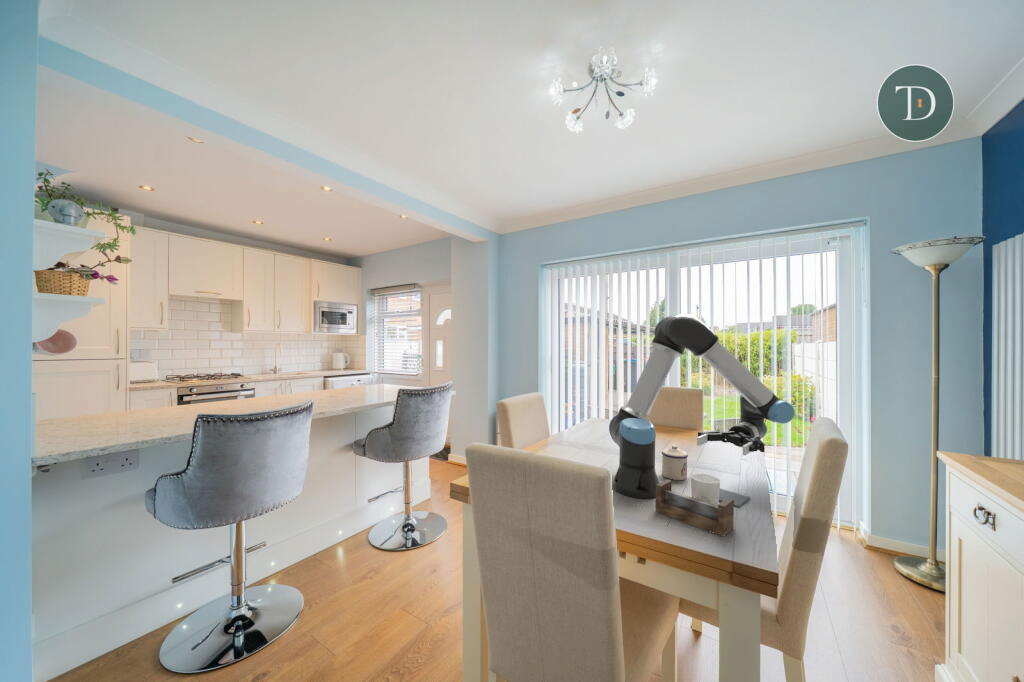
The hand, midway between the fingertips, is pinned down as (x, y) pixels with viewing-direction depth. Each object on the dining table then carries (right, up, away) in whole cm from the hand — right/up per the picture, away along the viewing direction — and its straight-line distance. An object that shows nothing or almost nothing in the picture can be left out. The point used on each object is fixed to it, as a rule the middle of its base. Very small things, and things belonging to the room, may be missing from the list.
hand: (720, 446), depth 120 cm
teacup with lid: (-4, -18, +24) cm, 30 cm away
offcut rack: (-15, -18, -12) cm, 26 cm away
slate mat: (+4, -18, +4) cm, 19 cm away
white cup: (-8, -18, -6) cm, 21 cm away
